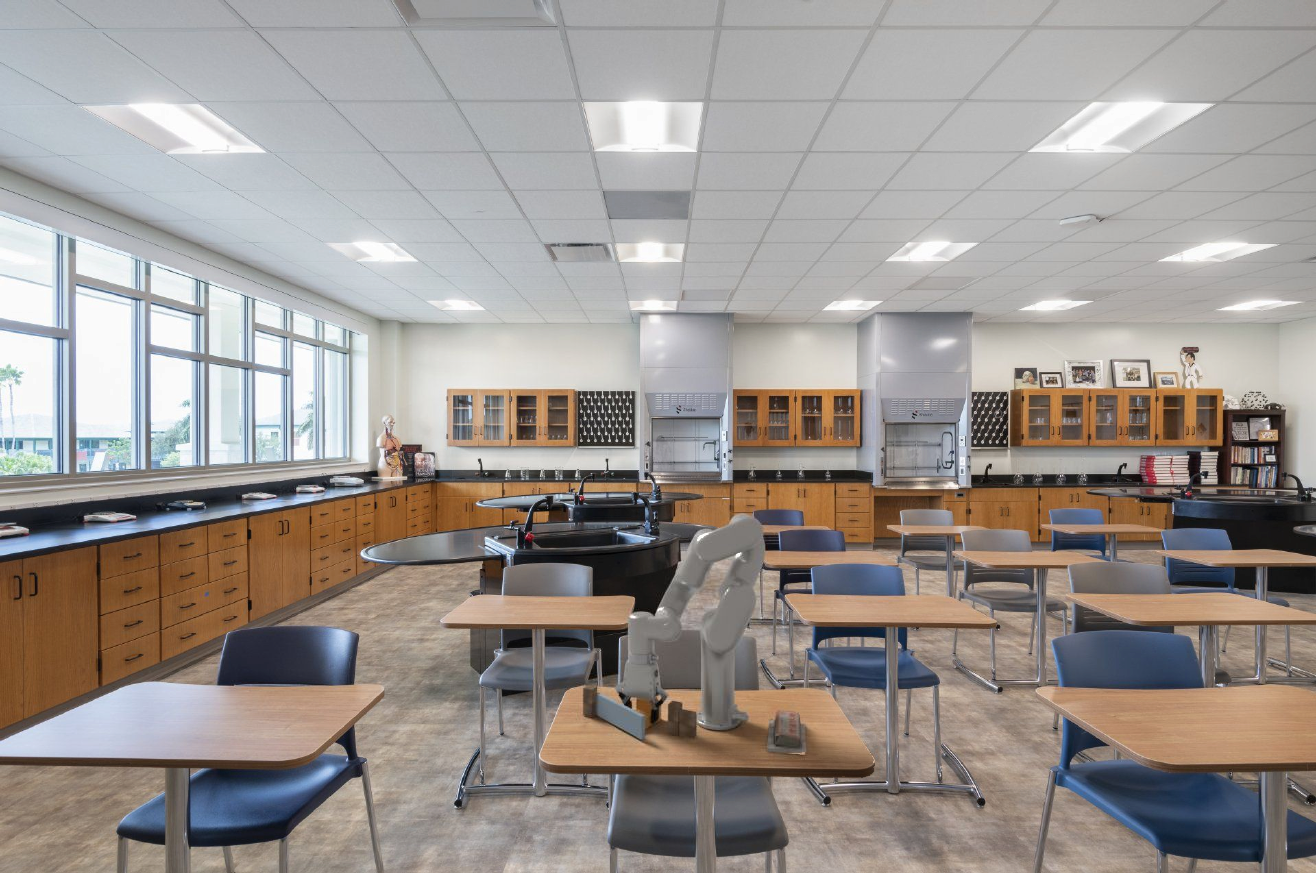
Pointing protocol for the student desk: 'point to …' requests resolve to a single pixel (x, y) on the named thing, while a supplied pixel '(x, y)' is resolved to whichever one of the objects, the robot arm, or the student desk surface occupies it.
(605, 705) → the gate door
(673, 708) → the wooden posts
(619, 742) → the student desk surface
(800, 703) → the student desk surface
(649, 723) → the orange stepped block
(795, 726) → the packaged product
